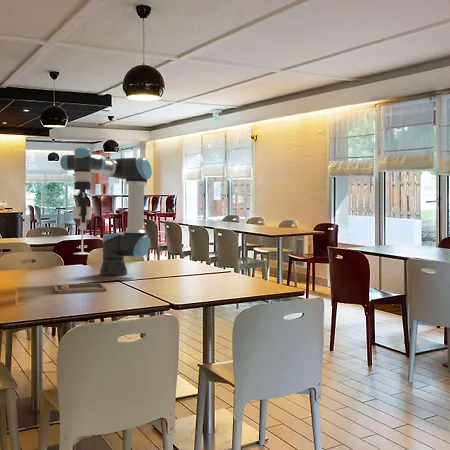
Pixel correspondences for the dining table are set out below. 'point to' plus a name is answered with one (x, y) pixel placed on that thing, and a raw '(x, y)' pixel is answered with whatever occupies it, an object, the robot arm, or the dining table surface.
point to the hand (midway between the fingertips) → (82, 229)
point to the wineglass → (77, 220)
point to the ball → (64, 287)
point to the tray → (81, 288)
